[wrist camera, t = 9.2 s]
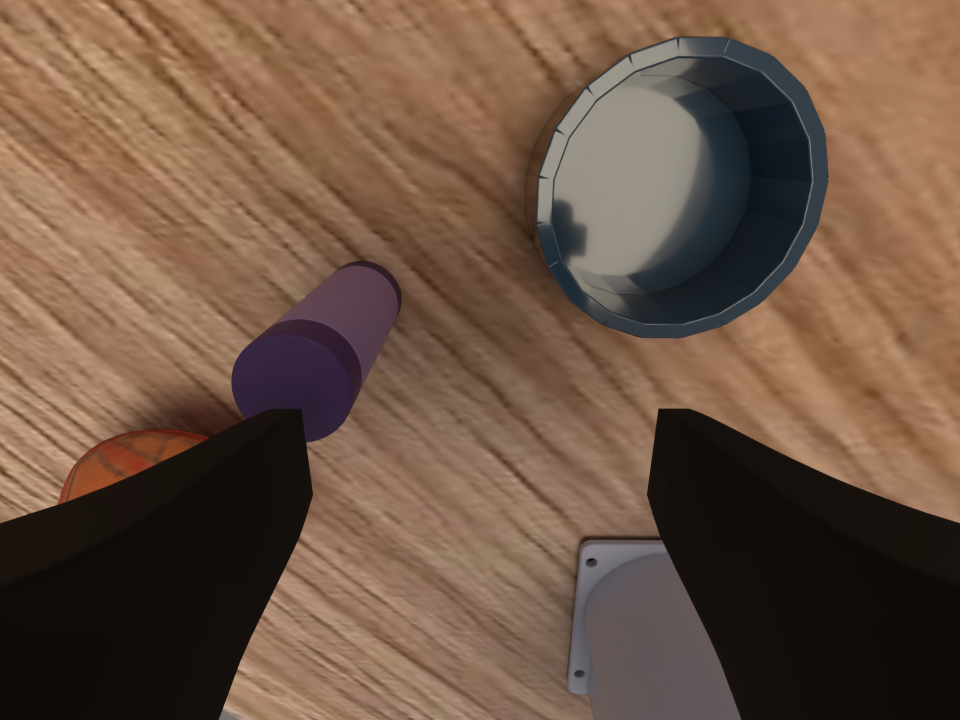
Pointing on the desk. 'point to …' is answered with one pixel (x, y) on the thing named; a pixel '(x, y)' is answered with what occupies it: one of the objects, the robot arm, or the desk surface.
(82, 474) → the pot
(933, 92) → the desk surface
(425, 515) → the desk surface
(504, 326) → the desk surface
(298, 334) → the glue stick
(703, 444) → the robot arm
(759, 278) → the desk cup
